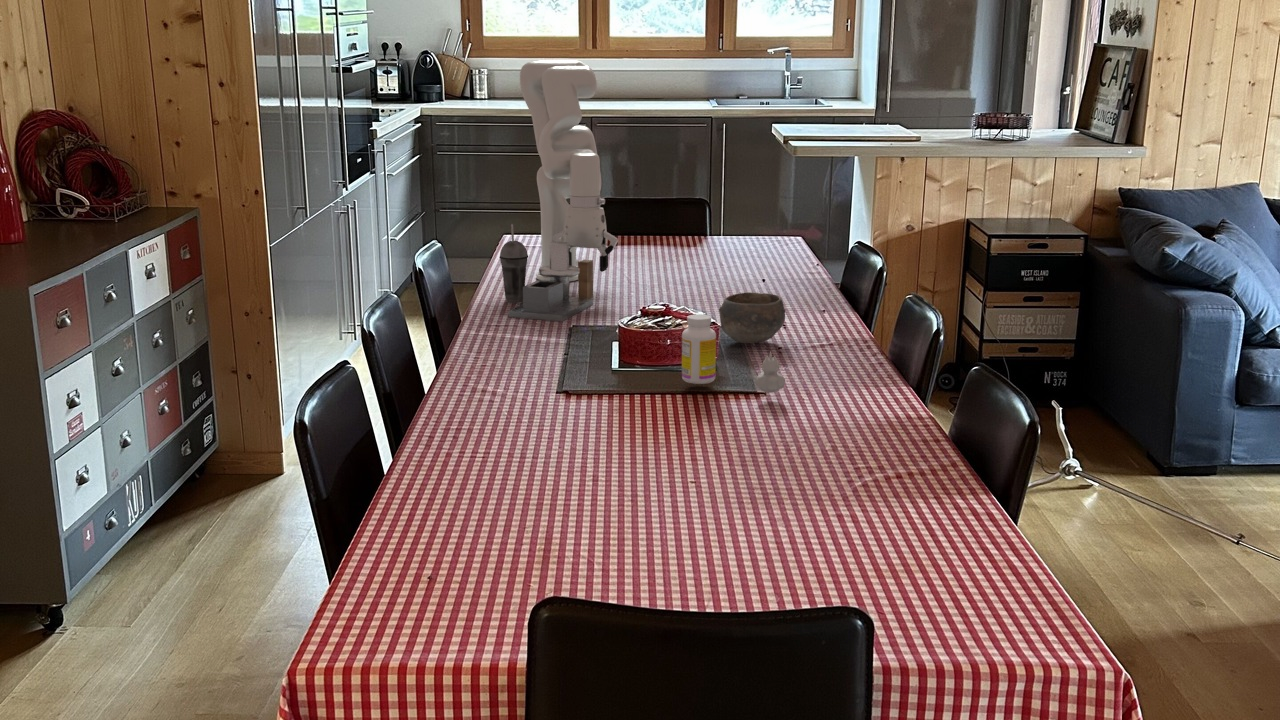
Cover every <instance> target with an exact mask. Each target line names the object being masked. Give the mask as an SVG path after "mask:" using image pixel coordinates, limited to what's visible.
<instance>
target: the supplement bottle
mask: <svg viewBox="0 0 1280 720" xmlns="http://www.w3.org/2000/svg"><path fill="white" fill-rule="evenodd" d="M686 323H687V328H685V329H684V330H683V331H682V333H681V378H682V380H683V381H684V382H685V383H688V384H694V385H695V384H697V385H705V384H710V383H713V382H714V381H715V380H716V376H717V375H716V371H717V370H716V369H717V367H716V363H717V361H716V360H717V359H716V358H717V357H716V356H717V344H716V343H717V333H716V331H715V330H714V329H713V328H711V324H712V316H711V315H707V314H697V313H695V314H690V315H689V314H688V316H687V317H686Z"/></svg>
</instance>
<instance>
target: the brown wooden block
mask: <svg viewBox="0 0 1280 720" xmlns="http://www.w3.org/2000/svg"><path fill="white" fill-rule="evenodd" d="M577 267H579V275H578V280H577V283H578V284H577V285H578V286H577V287H578V288H577V290H578V292H577V293H578V294H577V295H578V298H590V299H594V259H582V260H580V261H579V262H578V266H577Z"/></svg>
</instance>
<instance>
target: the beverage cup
mask: <svg viewBox="0 0 1280 720" xmlns="http://www.w3.org/2000/svg"><path fill="white" fill-rule="evenodd" d="M510 225H511V227H510V228H511V229H510V230H511V231H510V233H511V240H509V241H507V242H506V243H505V244H503V245H502V247H501V249H500V253H499V261H500V265H501V270H502V281H503V289H504V296H505V302H506V303H508V304H520V303H523V287H524V286H526V276H527V275H526V274H527V265H528V258H529V254H528V249H527V247H526V246H525V245H524V244H523V243H522V242H520V241H517V240H515V237H514V236H515V235H514V234H515V233H514V223H511V224H510Z"/></svg>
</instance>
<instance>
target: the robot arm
mask: <svg viewBox="0 0 1280 720" xmlns="http://www.w3.org/2000/svg"><path fill="white" fill-rule="evenodd" d="M519 84H520V85H519V86H520V90H521V94H522V97H523V100H524V102H525V104H526V107H527V108H528V111H529V113H530V115H531V120H532V126H533V131H534V138H535V143H536V149H537V153H538V155H539V157H540V162H541V166H540V167H539V169H538V170H537V172H536V183H537V184H536V185H537V190H538V191H537V192H538V195H539V204H540V205H539V206H540V230H541V231H540V237H541V239H540V241H541V244H540V245H541V267H544V266H550V264H549V243H550V242H568V243H569V265H570V266H576V267H578V262H580V261H579V259H578V258H577V248H585V249H596V250H598V252H599V254H601V255H600V256H599V272H601V273H603V272H605V271H606V270H607V269H608V268H609V255H610V253H612V252H613V251H614V250H615V247H616V246H617V243H618V242H619V238H618V237H616V236H614V235H613V234H611V233H609V232H608V231H607V220H606V216H605V210H604V207H601V206H602V205H605V204H606V199H605V198H602V197H601V196H602V195H601V189H602V173H601V166H600V165H601V162H600V161H601V159H600V158H601V157H600V155H598V151H597V150H598V149H597V145H596V140H595V136H594V134H593V132H592V130H591V129H590V128H589V127H588V126H585V125H579V123H580V122H581V121H582V118H583V117H582V116H583V113H582V110H581V105H580V102H579V101H580V100H579V99H591V98H593V97H594V96H595V94H596V92H597V86H598V82H597V77H596V74H595V72H594V71H593V69H592V67H590V66H589V65H588V64H586V63H584V62H582V61H580V60H576V59H574V60H571V59H568V60H567V59H566V60H565V59H564V60H563V59H558V60H557V59H555V60H553V59H552V60H551V59H550V60H549V59H544V60H543V59H541V60H540V59H539V60H531V61H529V62H526V63H524V64H523V65H522V66H521V68H520V71H519ZM567 199H570V200H569V202H568V201H567ZM608 241H609V246H608V247H607V246H606V245H607V242H608ZM535 277H536V279H537V280H542V281H550V277H546V276H542V275H540V274H539V272H537V273H536V276H535ZM576 281H578V275H576V276H571V277H569V282H576Z"/></svg>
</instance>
